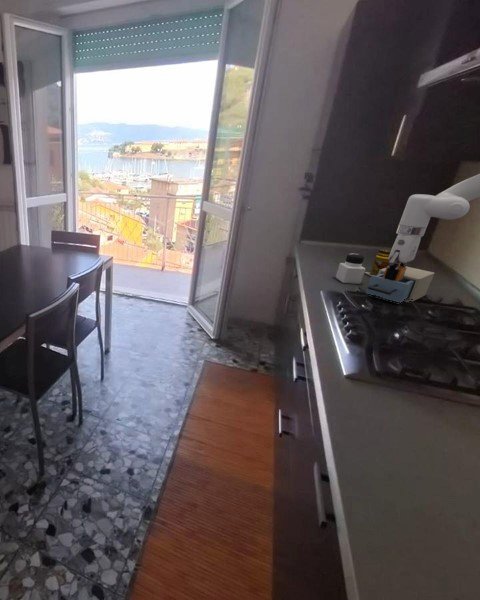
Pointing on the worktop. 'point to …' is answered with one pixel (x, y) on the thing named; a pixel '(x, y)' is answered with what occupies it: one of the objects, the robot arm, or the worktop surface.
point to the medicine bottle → (351, 269)
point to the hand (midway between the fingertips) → (392, 277)
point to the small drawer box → (421, 282)
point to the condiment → (380, 262)
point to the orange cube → (400, 273)
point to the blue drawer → (390, 288)
